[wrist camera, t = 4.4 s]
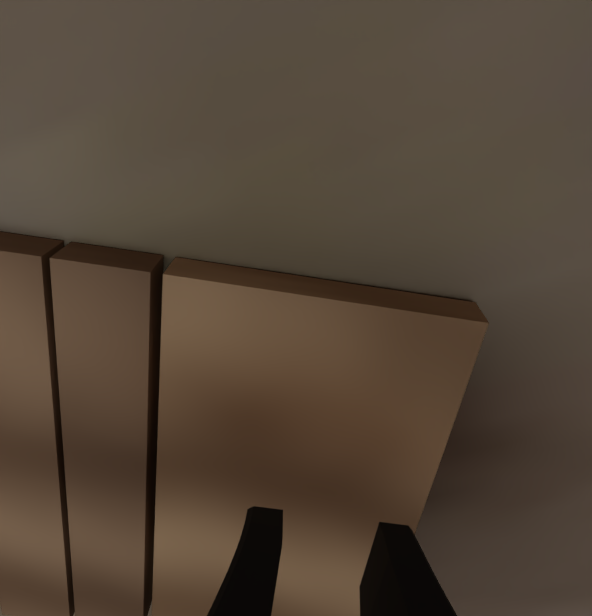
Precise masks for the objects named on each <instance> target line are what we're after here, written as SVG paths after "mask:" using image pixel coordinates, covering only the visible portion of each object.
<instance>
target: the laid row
mask: <svg viewBox="0 0 592 616" xmlns="http://www.w3.org/2000/svg"><path fill="white" fill-rule="evenodd" d="M162 285H163V255H158V254H151V253H144V252H137V251H130V250H123V249H116V248H109V247H103V246H96V245H89V244H82V243H75V242H70V243H69V244H68V245H66V246H65V247H64V245H63V241H61V240H54V239H47V238H40V237H34V236H27V235H20V234H13V233H6V232H0V605H1V611H2V614H3V615H12V616H73V614H74V612H75V616H147V615H148V611H149V608H150V605H151V601H152V591H153V560H154V530H155V499H156V469H157V438H158V408H159V377H160V347H161V316H162Z"/></svg>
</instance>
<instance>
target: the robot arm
mask: <svg viewBox="0 0 592 616" xmlns="http://www.w3.org/2000/svg"><path fill="white" fill-rule="evenodd" d="M282 539H283V510H281V509H273V508H265V507H257V506H253V507H251V508H249V509H247V514H246V519H245V523H244V527H243V530H242V534H241V537H240V540H239V543H238V546H237V548H236V551H235V554H234V556H233V559H232V561H231V564H230V566H229V569H228V571H227V573H226V575H225V578H224V580H223V582H222V584H221V587H220V589H219V591H218V593H217V595H216V598H215V600H214V602H213V604H212V606H211V608H210V610H209V612H208V614H207V616H271V613H272V607H273V601H274V594H275V588H276V581H277V575H278V569H279V562H280V556H281V549H282ZM359 589H360V616H457V615H456V613H455V611H454V610H453V608H452V606H451V604H450V602H449V601H448V599H447V597H446V595H445V593H444V591H443V590H442V588H441V586H440V584H439V582H438V580H437V578H436V576H435V575H434V573H433V571H432V569H431V567H430V565H429V563H428V561H427V559H426V557H425V555H424V553H423V551H422V549H421V547H420V545H419V543H418V541H417V539H416V537H415V535H414V533H413V531H412V529H411V528H410V527H409V525H401V524H393V523H385V522H379V525H378V528H377V531H376V534H375V538H374V541H373V544H372V547H371V551H370V554H369V557H368V560H367V564H366V567H365V570H364V573H363V577H362V580H361V583H360V586H359Z"/></svg>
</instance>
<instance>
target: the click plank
mask: <svg viewBox="0 0 592 616" xmlns="http://www.w3.org/2000/svg"><path fill="white" fill-rule="evenodd" d="M488 325H489V322H488V321H487V319H486V318H485V316H484V315H483V313H482V312H481V310H480V309H479V307H478V306H477V304H476V303H475V302H469V301H463V300H456V299H449V298H443V297H436V296H430V295H423V294H416V293H410V292H403V291H396V290H390V289H383V288H377V287H370V286H363V285H357V284H350V283H344V282H337V281H330V280H324V279H317V278H311V277H304V276H297V275H291V274H284V273H277V272H271V271H264V270H258V269H251V268H244V267H238V266H231V265H225V264H218V263H211V262H205V261H198V260H192V259H185V258H178V257H175V259H174V260H173V261H172V263H171V264H170V265H169V267H168V268H167V269H166V271H165V272H164V273H163V286H162V317H161V347H160V378H159V408H158V439H157V469H156V500H155V530H154V561H153V591H152V616H207V614H208V612H209V610H210V608H211V606H212V604H213V602H214V600H215V598H216V595H217V593H218V591H219V589H220V587H221V584H222V582H223V580H224V578H225V575H226V573H227V571H228V569H229V566H230V564H231V561H232V559H233V556H234V554H235V551H236V548H237V546H238V543H239V540H240V537H241V534H242V530H243V527H244V523H245V519H246V514H247V509H249V508H251V507H253V506H257V507H265V508H273V509H281V510H283V539H282V549H281V556H280V562H279V569H278V575H277V581H276V588H275V594H274V601H273V607H272V613H271V616H360V589H359V586H360V583H361V580H362V577H363V573H364V570H365V567H366V564H367V560H368V557H369V554H370V551H371V547H372V544H373V541H374V538H375V534H376V531H377V528H378V525H379V522H385V523H393V524H401V525H409V527H410V528H411V529H412V531H413V533H414V535H415V532H416V529H417V526H418V523H419V520H420V518H421V515H422V512H423V509H424V506H425V503H426V501H427V498H428V495H429V492H430V489H431V486H432V483H433V481H434V478H435V475H436V472H437V469H438V466H439V464H440V461H441V458H442V455H443V452H444V449H445V447H446V444H447V441H448V438H449V435H450V432H451V430H452V427H453V424H454V421H455V418H456V415H457V413H458V410H459V407H460V404H461V401H462V398H463V396H464V393H465V390H466V387H467V384H468V381H469V379H470V376H471V373H472V370H473V367H474V364H475V361H476V359H477V356H478V353H479V350H480V347H481V344H482V342H483V339H484V336H485V333H486V330H487V327H488Z"/></svg>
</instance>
